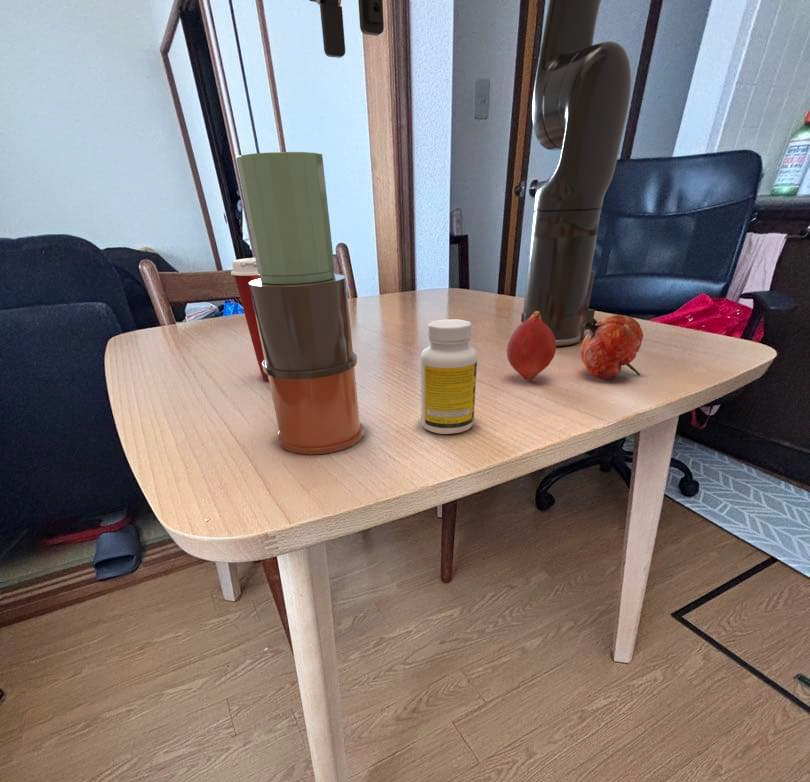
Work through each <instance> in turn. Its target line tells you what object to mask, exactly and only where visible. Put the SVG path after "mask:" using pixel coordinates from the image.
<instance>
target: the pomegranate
mask: <svg viewBox="0 0 810 782" xmlns="http://www.w3.org/2000/svg"><path fill="white" fill-rule="evenodd" d="M584 327H587V328H588V331H589V333H587V334H586V335H585V336H584V338H583V339H582V340H583V341H582V343H581V347H580V355H581V357H580V358H581V362H582V364H583V365H584V366H585V368H586V370H587V371H588V372H589V373H590V375H592V376H594V377H596V378H599V379H603V380H609V379H612V378H615V377H617V375H618V374H620V372H621V370H622V366H626V367H628V368H629V369H630V370H632V371H633V372H634V373H635V374H636V375H637V376H641V373H640V372H639V371H638V370H637V369H636V368H635V367H634V366H633V365H632V364H631V363H632V362H633V360H634V359H635V358H636V356H637V353H638V352H639V351H640V348H641V346H642V341H643V339H644V332H643V329H642V327H641V324H640V323H639V322H638V321H637V320H636V319H635V318H633V317H632V316H628V315H624V314H615V315H610V316H608V317H606V318H604V319H603V320H601V321H597V324H596V325H593V324H591V323H588V322H586V323H585V325H584V326H583V328H584Z"/></svg>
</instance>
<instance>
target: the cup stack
mask: <svg viewBox="0 0 810 782" xmlns="http://www.w3.org/2000/svg"><path fill="white" fill-rule="evenodd" d="M249 286H250V291H251V296H252V300H253V305H254V310H255V315H256V320H257V325H258V330H259V335H260V340H261V344H262V349H263V354H264V359H265V360H264V361H263V362H262V366H263V371H264V372H265V373H266V374H267V375H268V379H269V381H268V382H269V389H270V393H271V397H272V403H273V407H274V412H275V417H276V418H275V419H276V423H277V427H278V432H277V436H276V437H277V443H278V444H279V446H280V448H282V449H283V450H285V451H286V452H287V451H288V452H290V453H294V454H297V455H298V454H299V455H324V454H331V453H336V452H339V451H343V450H346V449H348V448H351V447H353V446H355V445H357V443H359V442H360V441H361V440H362V439H363V437H364V434H365V433H364V432H365V431H364V425H363V424H362V423H361V419H360V411H359V401H358V391H357V378H356V370H355V367H356V366H357V364H358V358H357V354H356V353H355V352H354V349H353V347H354V346H353V339H352V338H353V337H352V328H351V316H350V308H349V295H348V287H347V277H346V276H345V275H343V274H339V273H335V278H333V279H331V280H327V281H321V282H314V283H305V284H288V285H274V284H264V283H261V281H260V279H257V280H253V281H251V282H250V283H249Z"/></svg>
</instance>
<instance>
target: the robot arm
mask: <svg viewBox="0 0 810 782" xmlns="http://www.w3.org/2000/svg"><path fill="white" fill-rule="evenodd" d="M357 1H358V17H359V18H358V19H359V29H360V32H361V33H362V34H363V35H368V36H375V37H377V36H379V35H381V34H382V33H384V28H385V27H384V26H385V25H384V1H383V0H357ZM309 2H312V3H313V2H314V3H316V5H319V10H320V23H321V30H322V31H321V33H322V41H323V42H322V43H323V52H324V54H325V56H327V57H329V58H337V59H340V58H343V57H344V56H345V54H346V39H345V27H344V15H343V6H341V5H342V0H309ZM601 3H602V0H548V3H547V5H548V6H547V9H546V16H545V22H544V28H543V33H542V39H541V45H540V51H539V56H538V61H537V67H536V73H535V80H534V86H533V91H532V92H533V94H532V103H531V119H532V127H533V131H534V135H535V137H536V139H537V142H538V143H539V144H540V146H542V147H543V148H544V149H545V150H548V151H561V152H560V157H559V161H558V164H557V166H556V168H555V170H554V171H553V172H552V174H551V175H550V176H549V177H548V178H547V179H546V180H545V181H543V183H541V184H540V185H538V187H537V189H536V190H535V195H534V201H533V212H532V222H531V232H530V241H529V251H528V261H527V271H526V273H527V274H526V281H525V290H524V299H523V300H524V301H523V310H522V313H521V318H520V319H521V320H520V323H521V324H522V323H523V322H525V321H526V320H527V319H528V318H530V317H531V316H532V315H533V314H534V312H537V311H538V312H540V316H541V320H542V321H543V322H544V323H545V324H546V325H547V326H548V327H549V328H550V329H551V331H552V332H553V334H554V337H555V340H556V347H563V346H570V345H574V344H577V343H579V342H580V341H581V340H584V339H585V332H586V331H589V329H588V328H587V327H584V328H583V326H584V325H585V323H586V322H588V323H591V324H593V325H596V324H597V323H598V320H596V318H595V312H596V309H593V308H590V303H591V299H592V293H593V292H592V291H593V287H594V282H595V281H594V280H595V275H596V273H595V271H594V270H592V267H593V261H594V257H595V250H596V246H597V245H596V244H597V238H598V233H599V227H600V223H601V222H600V221H601V215H602V208H603V204H604V201H605V200H604V199H605V195H606V193H607V191H608V190H609V187H610V185H611V183H612V180H613V177H614V174H615V171H616V166H617V162H618V156H619V152H620V148H621V143H622V139H623V135H624V130H625V126H626V122H627V117H628V110H629V107H630V106H629V105H630V101H631V91H632V68H631V63H630V59H629V56H628V53H627V52H626V49H624V47H623V46H622V45H621V44H619V43H618V42H615V41H611V40H608V41H602V42H598V43H595V44H594V38H595V31H596V25H597V21H598V20H597V19H598V14H599V11H600V6H601Z"/></svg>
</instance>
